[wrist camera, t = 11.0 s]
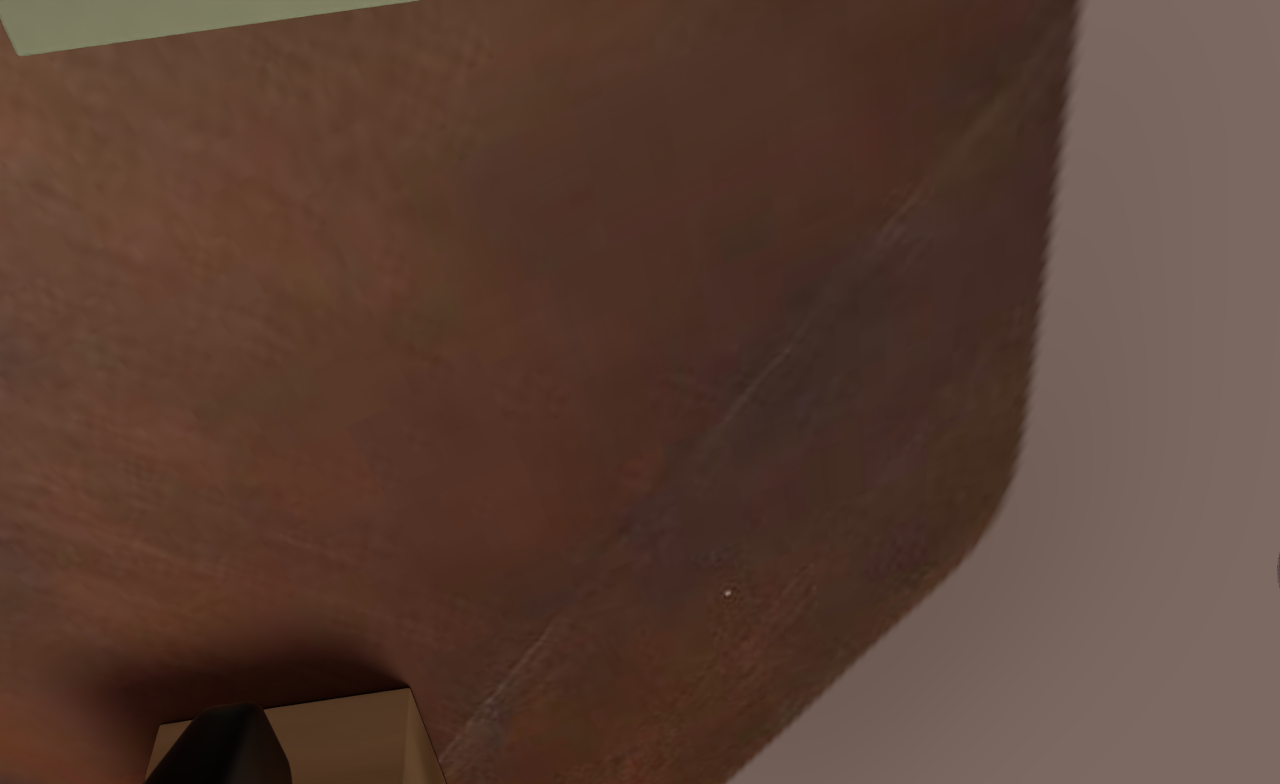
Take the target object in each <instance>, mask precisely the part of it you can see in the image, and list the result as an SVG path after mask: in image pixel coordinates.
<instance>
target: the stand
mask: <svg viewBox="0 0 1280 784" xmlns="http://www.w3.org/2000/svg"><path fill="white" fill-rule="evenodd" d="M263 710H264V712H265V714H266V716H267V718H268V720H269V722H270V724H271V726H272V728H273V730H274V732H275V734H276V736H277V738H278V740H279V742H280V744H281V746H282V748H283V750H284V752H285V754H286V756H287V759H288V761H289V765H290V769H291V775H292V784H446V782H445V779H444V776H443V774H442V771H441V769H440V766H439V763H438V761H437V758H436V756H435V753H434V750H433V748H432V745H431V742H430V740H429V737H428V735H427V732H426V729H425V727H424V724H423V722H422V719H421V716H420V714H419V711H418V709H417V706H416V703H415V701H414V698H413V696H412V693H411V690H410V689H409V688H404V689H397V690H391V691H384V692H377V693H370V694H364V695H357V696H350V697H344V698H337V699H330V700H323V701H317V702H310V703H303V704H297V705H290V706H283V707H276V708H270V709H263ZM191 721H192V720H189V721H182V722H176V723H169V724H162V725H160V726H159V730H158V733H157V737H156V741H155V744H154V748H153V751H152V755H151V758H150V762H149V765H148V769H147V773H146V776H145V780H146V779H147V778H148V777H149V775H150V774H151V773H152V771H153V770H154V769H155V768H156V766H157V765H158V764H159V762H160V761H161V760H162V759H163V757H164V756H165V755H166V753H167V752H168V751H169V750H170V748H171V747H172V746H173V744H174V743H175V742H176V741H177V739H178V738H179V737H180V735H181V734H182V733H183V732H184V730H185V729H186V728H187V726H188V725H189V724H190V723H191ZM145 780H144V782H145Z"/></svg>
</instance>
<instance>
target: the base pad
mask: <svg viewBox="0 0 1280 784" xmlns="http://www.w3.org/2000/svg"><path fill="white" fill-rule="evenodd" d="M411 1H418V0H0V20H1V22H2V24H3V26H4V28H5V30H6V32H7V34H8V37H9V39H10V41H11V43H12V45H13V47H14V49H15V51H16V53H17V54H18V55H19V56H27V55H34V54H41V53H48V52H55V51H62V50H70V49H77V48H84V47H91V46H98V45H105V44H112V43H119V42H126V41H134V40H141V39H148V38H155V37H162V36H169V35H176V34H183V33H190V32H198V31H205V30H212V29H219V28H226V27H233V26H240V25H247V24H254V23H262V22H269V21H276V20H283V19H290V18H297V17H304V16H311V15H318V14H326V13H333V12H340V11H347V10H354V9H361V8H368V7H375V6H382V5H389V4H397V3H404V2H411Z"/></svg>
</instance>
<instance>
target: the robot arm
mask: <svg viewBox="0 0 1280 784" xmlns="http://www.w3.org/2000/svg"><path fill="white" fill-rule="evenodd" d="M143 784H292V775H291V769H290V765H289V761H288V759H287V756H286V754H285V752H284V750H283V748H282V746H281V744H280V742H279V740H278V738H277V736H276V734H275V732H274V730H273V728H272V726H271V724H270V722H269V720H268V718H267V716H266V714H265V712H264V710H263V709H262V707H261V706H260V705H258V704H257V703H255V702H253V701H245V702H238V703H230V704H222V705H214V706H211V707H207V708H205V709H204V710H202V711H201V712H200V713H199V714H197V715H196V716H195V718H194V719H193V720H192V721H191V723H190V724H189V725H188V726H187V728H186V729H185V730H184V732H183V733H182V734H181V735H180V737H179V738H178V739H177V741H176V742H175V743H174V744H173V746H172V747H171V748H170V750H169V751H168V752H167V753H166V755H165V756H164V757H163V759H162V760H161V761H160V762H159V764H158V765H157V766H156V768H155V769H154V770H153V771H152V773H151V774H150V775H149V777H148V778H147V779H146V780H145V782H144V783H143Z"/></svg>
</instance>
